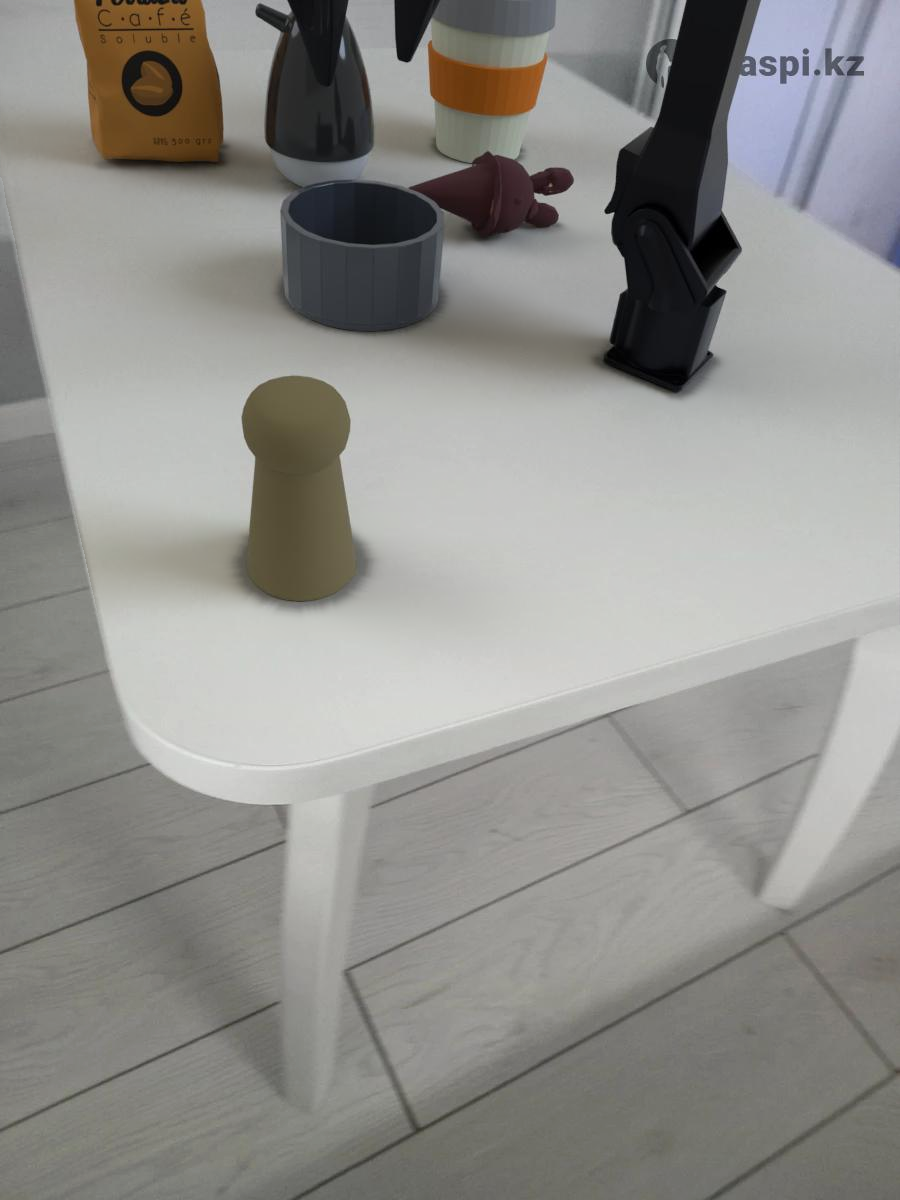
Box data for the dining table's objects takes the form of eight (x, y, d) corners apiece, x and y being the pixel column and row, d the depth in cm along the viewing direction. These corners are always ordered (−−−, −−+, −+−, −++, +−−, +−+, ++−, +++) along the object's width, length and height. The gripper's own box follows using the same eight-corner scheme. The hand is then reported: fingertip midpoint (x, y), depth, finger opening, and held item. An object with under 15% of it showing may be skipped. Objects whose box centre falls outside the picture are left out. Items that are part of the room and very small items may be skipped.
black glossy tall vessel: (266, 157, 92) (257, -23, 81) (371, 162, 93) (375, -14, 82) (262, 199, 85) (250, 8, 74) (375, 204, 86) (380, 17, 75)
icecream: (426, 181, 74) (591, 192, 79) (407, 125, 78) (566, 139, 83) (409, 252, 80) (564, 258, 85) (392, 197, 84) (542, 206, 88)
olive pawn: (378, 570, 51) (385, 402, 43) (287, 617, 48) (277, 445, 40) (315, 513, 54) (311, 346, 46) (225, 554, 51) (204, 382, 43)
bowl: (466, 291, 75) (475, 212, 71) (375, 348, 68) (378, 264, 63) (349, 244, 80) (350, 167, 75) (252, 293, 72) (246, 210, 67)
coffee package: (227, 173, 88) (203, -115, 73) (91, 171, 86) (36, -127, 70) (225, 135, 95) (203, -135, 79) (98, 132, 92) (50, -147, 77)
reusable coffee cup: (538, 176, 94) (564, 7, 84) (416, 164, 94) (426, -8, 83) (533, 133, 103) (555, -25, 92) (421, 122, 103) (431, -38, 92)
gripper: (363, -225, 65) (361, 27, 76) (160, -225, 54) (193, 71, 65) (493, -204, 61) (471, 59, 72) (303, -200, 50) (312, 111, 61)
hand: (365, 72), depth 68 cm, fingers open, 9 cm apart
